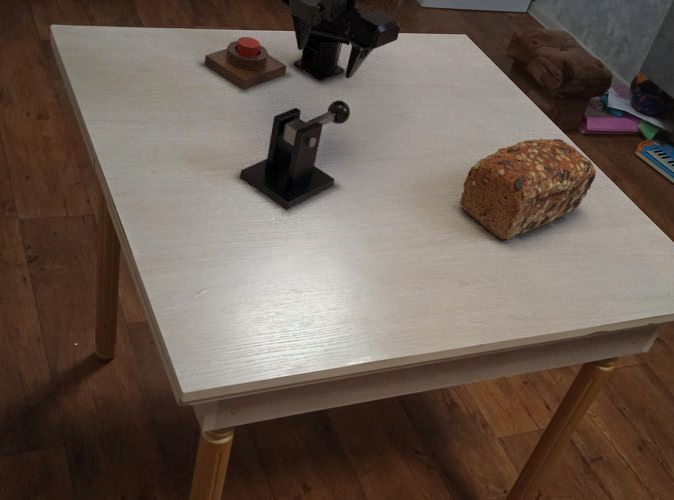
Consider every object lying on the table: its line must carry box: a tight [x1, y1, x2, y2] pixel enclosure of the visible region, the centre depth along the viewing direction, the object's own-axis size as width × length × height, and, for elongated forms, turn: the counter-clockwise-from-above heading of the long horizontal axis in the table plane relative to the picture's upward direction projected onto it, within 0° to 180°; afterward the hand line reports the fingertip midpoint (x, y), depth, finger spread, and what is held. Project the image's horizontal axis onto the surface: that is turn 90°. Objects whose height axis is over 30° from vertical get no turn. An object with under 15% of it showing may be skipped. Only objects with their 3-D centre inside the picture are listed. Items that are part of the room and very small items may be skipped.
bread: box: [460, 138, 597, 240], centre depth 121 cm, size 19×11×10 cm, turn 130°
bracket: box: [239, 107, 335, 210], centre depth 114 cm, size 10×9×10 cm
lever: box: [283, 99, 351, 146], centre depth 114 cm, size 12×3×3 cm, turn 140°
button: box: [237, 36, 261, 57], centre depth 135 cm, size 4×4×2 cm
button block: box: [204, 40, 287, 90], centre depth 136 cm, size 10×9×4 cm
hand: (324, 63), depth 120 cm, fingers open, 9 cm apart
